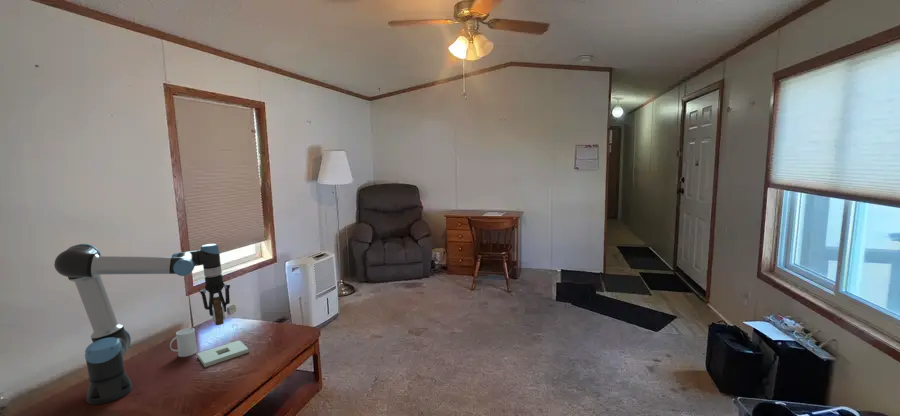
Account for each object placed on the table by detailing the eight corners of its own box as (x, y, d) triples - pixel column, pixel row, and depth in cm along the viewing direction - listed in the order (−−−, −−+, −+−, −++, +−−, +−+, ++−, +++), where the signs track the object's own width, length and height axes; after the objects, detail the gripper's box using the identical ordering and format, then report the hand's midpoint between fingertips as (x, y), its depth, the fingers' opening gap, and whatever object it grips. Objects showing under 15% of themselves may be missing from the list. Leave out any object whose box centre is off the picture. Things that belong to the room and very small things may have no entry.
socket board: (204, 367, 196) (204, 363, 196) (197, 357, 206) (197, 353, 206) (248, 352, 210) (248, 348, 210) (239, 343, 220) (239, 340, 220)
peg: (216, 325, 203) (213, 299, 201) (214, 323, 205) (211, 297, 203) (224, 323, 205) (221, 297, 203) (222, 321, 208) (219, 295, 206)
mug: (173, 361, 203) (170, 338, 201) (168, 356, 208) (165, 334, 206) (200, 352, 212) (197, 330, 210) (194, 347, 217) (191, 326, 215)
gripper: (195, 280, 193) (202, 327, 197) (233, 272, 204) (239, 316, 208) (192, 277, 199) (198, 322, 202) (229, 269, 210) (234, 312, 213)
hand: (219, 319), depth 205 cm, fingers closed on peg, 3 cm apart
